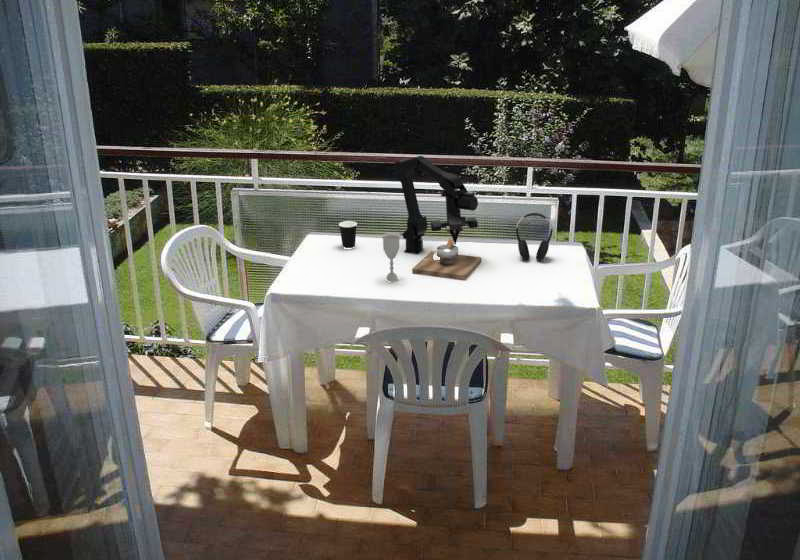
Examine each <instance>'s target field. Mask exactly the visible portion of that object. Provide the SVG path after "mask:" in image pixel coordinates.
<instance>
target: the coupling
mask: <svg viewBox="0 0 800 560" xmlns="http://www.w3.org/2000/svg"><path fill="white" fill-rule="evenodd" d="M436 249H437V250H436V252H437V256H438V257H440V258H444V259H452V258H456V257H457V256H458V254H459V247H458V246H456V245H455V244H454V240H453V238H449V239H448V241H447V243H446V244H443V245H442V244H441V245H438V246H437V248H436Z"/></svg>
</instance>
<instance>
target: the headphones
mask: <svg viewBox="0 0 800 560" xmlns="http://www.w3.org/2000/svg"><path fill="white" fill-rule="evenodd" d="M531 216H533V217H534V216H535V217H541V218H543V219H545V220H546V221H548V223H549V224H550V233H549V236H548V238H547V240H544V239H543V240H542V241H541V242H540V244H539V246H538V248H537V252H536V255H535V259H536V260H537V261H542V260H544V259H545V258H546V256H547V255H548V252H549V246H550V245H549V244H550V242H551V239H552V236H553V231H554V230H553V224H552V222H551V221H550V220H549V219H548V217H546V216H545V215H543V214H542V213H539V212H532V213H531V212H530V213H528V214H527V213H526V214H525V215H524V216H523V217H521V218H520V220H519V221H517V224H516V228H515V234H516V238H517V241H518V243H517V248H518V253H519V256H520V258H522V259H523V260H525V261H528V260H529V259H530V258H531V257H530V255H531V254H530V251H529V247H528V243H527V241H526V239H521V236H520V234H519V229H518V228H519V223H520V222H521V221H522V220H523V219H525V218H527V217H531Z"/></svg>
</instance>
